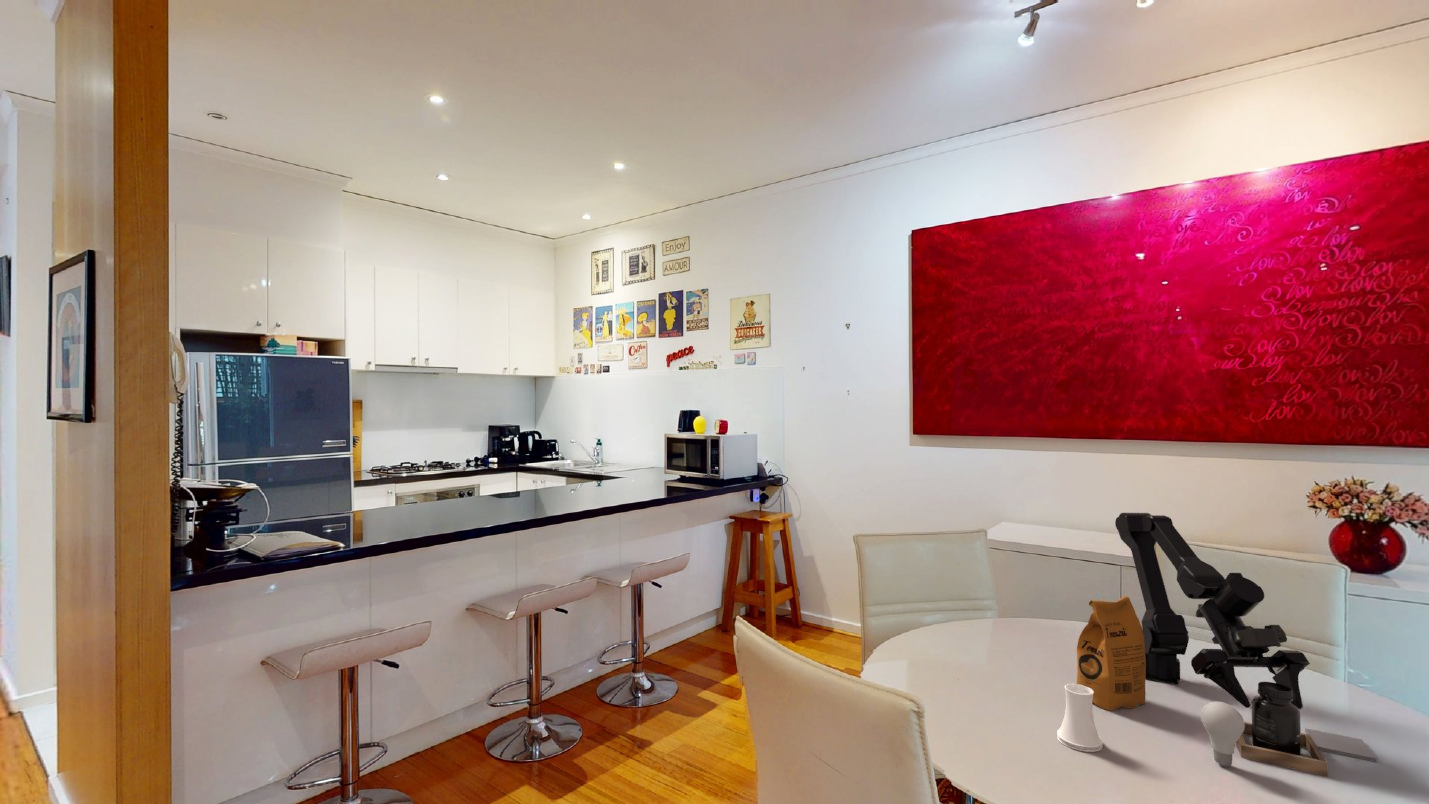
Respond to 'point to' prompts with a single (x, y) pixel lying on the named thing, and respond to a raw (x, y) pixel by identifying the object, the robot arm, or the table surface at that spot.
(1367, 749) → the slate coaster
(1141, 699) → the coffee package
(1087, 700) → the vase
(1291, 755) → the wooden square frame
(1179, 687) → the table surface
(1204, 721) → the lightbulb
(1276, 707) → the supplement bottle
